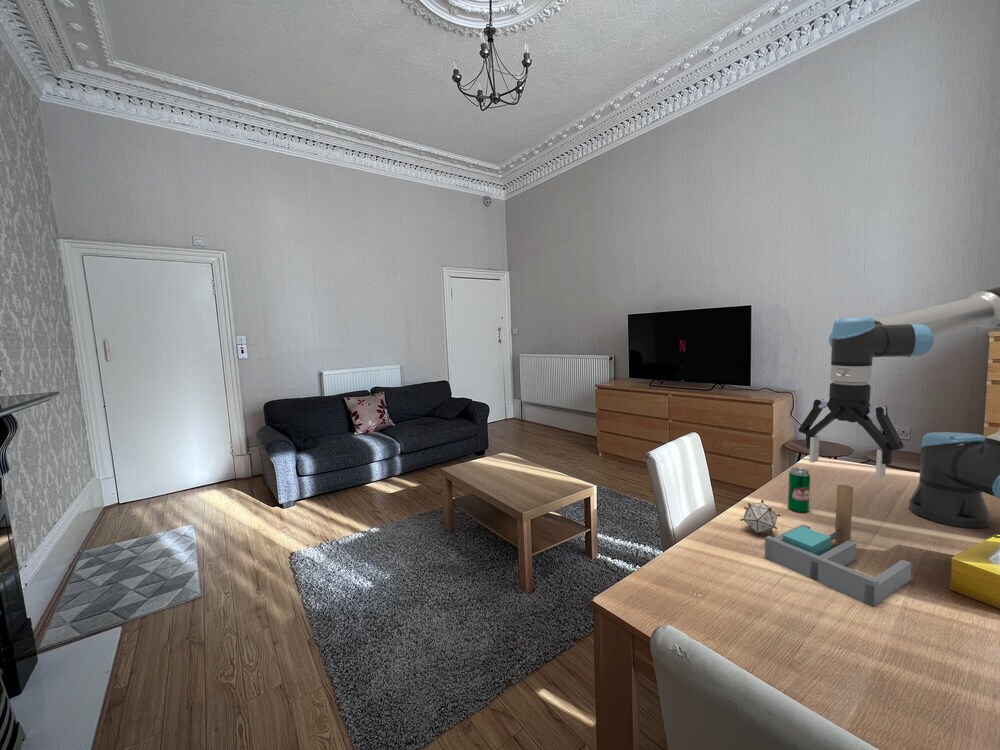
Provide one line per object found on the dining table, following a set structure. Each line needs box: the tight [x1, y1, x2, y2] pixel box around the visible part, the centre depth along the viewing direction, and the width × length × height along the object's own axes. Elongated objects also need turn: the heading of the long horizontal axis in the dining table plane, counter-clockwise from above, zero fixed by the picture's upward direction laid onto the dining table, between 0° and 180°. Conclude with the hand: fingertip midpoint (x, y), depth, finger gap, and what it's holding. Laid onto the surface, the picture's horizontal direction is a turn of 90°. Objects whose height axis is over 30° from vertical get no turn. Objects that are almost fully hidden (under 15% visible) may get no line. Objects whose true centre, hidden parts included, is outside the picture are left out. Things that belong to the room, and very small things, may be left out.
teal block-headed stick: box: [783, 484, 854, 556], centre depth 99 cm, size 22×6×14 cm, turn 117°
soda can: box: [787, 467, 811, 513], centre depth 121 cm, size 5×5×12 cm
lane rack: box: [764, 524, 912, 608], centre depth 93 cm, size 16×20×5 cm
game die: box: [739, 499, 781, 537], centre depth 110 cm, size 9×8×10 cm
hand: (845, 468), depth 102 cm, fingers open, 13 cm apart
